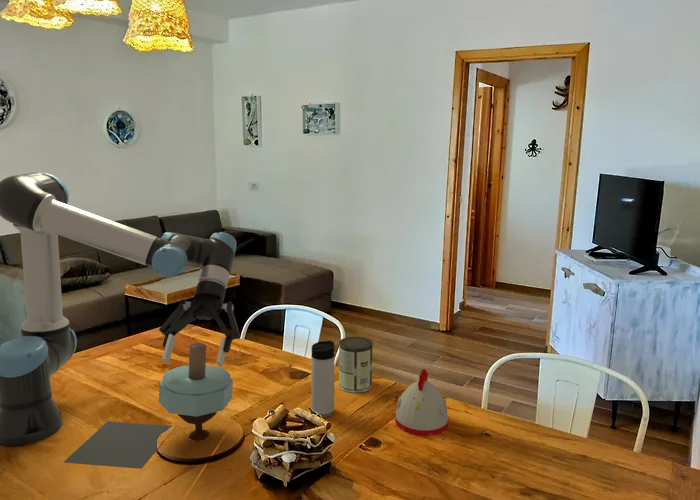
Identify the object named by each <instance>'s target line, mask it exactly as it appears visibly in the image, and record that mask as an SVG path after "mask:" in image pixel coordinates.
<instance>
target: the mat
mask: <svg viewBox="0 0 700 500" xmlns="http://www.w3.org/2000/svg"><path fill="white" fill-rule="evenodd" d="M172 426H173V425H165V424H164V425H162V424H152V423H151V424H150V423H149V424H148V423H138V422H137V423H136V422H120V421H111V420H110V421H106V422H105V423H104V424H103V425H101V427H99V429H97V431H95V432H94V433H93V434H92V435H91V436H90V437H89V438H88V439H87V440H85V442H83V443H82V444H81V445H80V446H79V447H78V448H77V449H76V450H74V452H72V453H71V454H70V455H69V456H68V457H67V458H66V459H65V460H64V461H63V463H66V464H68V463H69V464H79V465H81V464H82V465H92V466H102V467H104V466H105V467H117V468H130V469H143V468H144V467H145V465H146V464H147V463H148V461H149V460H150V459H151V458H152V457H153V456H154V454H155V453H157V451H158V449H159V448H157V439H158V438H159V436H161V435H160V434H162V433H163V432H165V431H167V430H168V429H169V428H170V427H172Z"/></svg>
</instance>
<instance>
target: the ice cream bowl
mask: <svg viewBox="0 0 700 500" xmlns="http://www.w3.org/2000/svg"><path fill="white" fill-rule="evenodd" d="M217 413H218V412H214V413H209V414H205V415H201V416H197V417H196V416H188V415H180V414H177V416H178V417H179V418H181V419H182V420H183V421H184V422H185V423H187V424H191V425H194V429H195V430H193V431H191V432H190V433H189V434H190V435H189V434H188V437H189V438H190V439H191V440H190V439H189V438H188V439H189V440H190V441H192V440H195V441H194V442H199V441H200V440H201V441H204V439H205V438H206V439H208V438H209V437H210V435H209V433H210V432H209V431H208V430H207V429H203V424H204V423H206V422H208V421H210V420H211V419H213V418H214V417H215V415H217ZM208 436H209V437H208ZM207 437H208V438H207ZM206 439H205V440H206ZM201 441H200V442H201Z"/></svg>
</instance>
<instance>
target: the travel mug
mask: <svg viewBox="0 0 700 500" xmlns="http://www.w3.org/2000/svg"><path fill="white" fill-rule="evenodd" d="M310 362H311V365H310V366H311V382H310V383H311V387H310V388H311V396H310V397H311V400H310V401H311V409H312V410H313V411H315V412H317V413H319V414H320V415H321V416H322V417H323V418H329V417H331V416H333V415H334V413H335V342H334V341H332V340H324V341H323V340H321V341H318V342H315V343H313V344H312V345H311V361H310ZM311 409H310V410H311ZM322 417H321V418H322Z"/></svg>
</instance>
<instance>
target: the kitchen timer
mask: <svg viewBox="0 0 700 500" xmlns="http://www.w3.org/2000/svg"><path fill="white" fill-rule="evenodd" d="M428 375H429V372H428V371H427V369H425V368H422V369H421V371H420V374H419V377H418V381H415V382H413V383H411V384H410V385H409V386H408V387H407V388H406V389H405V390H404V391H402V393H401V394H400V396H399V397H398V400H397V404H396V410H395V411H396V412H395V425H396V426H397V427H398V428H399V429H400V430H401V431H403V432H404V433H407V434H409V435H412V436H413V435H414V436H419V437H431V436H438V435H440V434H442V433H444V432H446V430H447V429H448V424H449V423H448V422H449V420H448V419H449V415H448V404H447V399H446V398H443V395H442V394H441V393H440V391H439V390H438V388H437V387H436V386H435V385H434V384H432V382H430V381H428V377H429V376H428Z"/></svg>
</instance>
